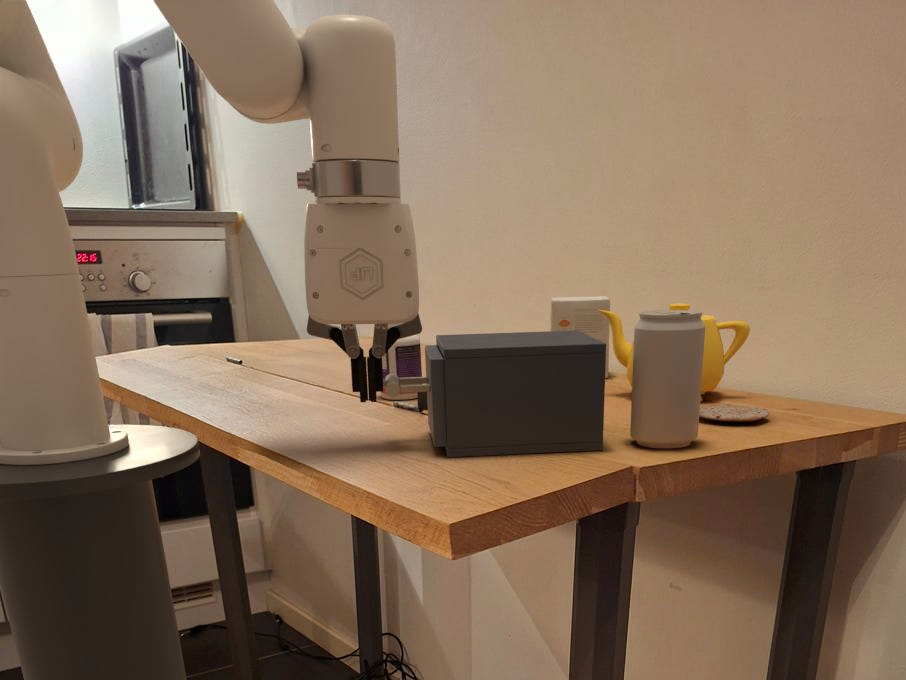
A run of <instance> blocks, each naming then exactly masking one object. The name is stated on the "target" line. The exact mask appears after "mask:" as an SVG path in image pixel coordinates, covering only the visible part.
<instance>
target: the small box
mask: <svg viewBox="0 0 906 680" xmlns="http://www.w3.org/2000/svg"><path fill="white" fill-rule="evenodd" d="M598 309H599V310H605V311H610V312H611V299H610V298H609V297H607V296H605V295H602V296H599V295H598V296H597V295H596V296H567V297H566V296H565V297H563V296H562V297H551V298H550V329H549V330H550V331H575V330H578V331H580V332H582V333H584V334H587V335H589V336H591V337H593V338H595V339H597V340H599V341H601V342H603V343H606V352H605V353H606V366H605V379H608V378H609V368H610V367H609V361H610V360H609V359H610V353H609V352H610V327H611V325H610V322H609V320H608V319H607V317H606V316H605V315H604V314H602V313H601V312H600V311H599V310H598Z"/></svg>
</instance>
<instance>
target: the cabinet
mask: <svg viewBox="0 0 906 680" xmlns="http://www.w3.org/2000/svg"><path fill="white" fill-rule="evenodd" d="M435 343H436V344H435V345H437V347H438V349H439V351H440V353H441V355H442V357H443V359H444V378H445V404H446V431H447V446H444V449H445V452H446V456H447V458H459V457H462V458H463V457H482V456H483V457H484V456H485V457H486V456H506V455H508V456H509V455H528V454H549V453H551V454H552V453H573V452H594V451H604V428H605V427H604V425H605V424H604V423H605V422H604V421H605V397H606V396H605V393H606V392H605V391H606V378H605V366H606V353H605V352H606V343H603V342H601V341H599V340H597V339H595V338H593V337H591V336H589V335H587V334H584V333H582V332H580V331H578V330H575V331H519V332H518V331H517V332H491V333H462V334H461V333H459V334H436V335H435Z"/></svg>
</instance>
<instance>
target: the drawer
mask: <svg viewBox="0 0 906 680" xmlns="http://www.w3.org/2000/svg"><path fill="white" fill-rule="evenodd" d="M424 357H425V358H424V360H425V376H422V377H407V378H398V376H397V375H395V374H388V375H387V376H386V378H385V392H386V394H387V395H388V396H389V397H391V398H395V397H397V396H398V395H399V394H400V392H401V393H406V392H427V405H428V409H427V422H428V428H429V431H430V436H431V439H432V443H433V447H436V448H437V447H438V448H439V447H441V448H442V447H445V446H447V431H446V404H445V378H444V359H443V357H442V355H441V353H440V351H439V349H438V347H437V345H436V344H433V345H432V344H431V345H424ZM406 384H422V385H406Z"/></svg>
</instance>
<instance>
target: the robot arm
mask: <svg viewBox="0 0 906 680" xmlns="http://www.w3.org/2000/svg"><path fill="white" fill-rule="evenodd" d="M152 1H153V3H154V4H155V6H156V7H157V9H158V10H159V11H160V13H161V15H162V16H163V18H164V19H165V21H166V23H168V25H169V26H170V28H171V29H172V31H173V33H174V34H175V35H176V36H177V38H178V39H179V41H180V42H181V44H182V45H183V46H184V48H185V49H186V51H187V53H188V54H189V56H190V57H191V58H192V60H193V62H194V63H195V65H196V66H197V67H198V69H199V70H200V72H201V73H202V75H203V76H204V77H205V79H206V80H207V81H208V83H209V84H210V85H211V87H212V89H214V90H215V92H216V93H217V94H218V95H219V96H220V97H221V98H223V99H224V100H225V101H226V102H227V103H228V104H229V105H230V106H231V107H232V108H233V109H234V110H235V111H236V112H238V113H239V114H240V115H241V116H243V117H244V118H246V119H247V120H250V121H253V122H255V123H258V124H266V125H268V124H269V125H271V124H273V125H274V124H281V123H289V122H293V121H294V122H295V121H300V120H308V119H309V131H310V144H311V146H310V147H311V158H312V160H311V161H312V163H311V165H312V166H311V167H309V169H306V170H305V171H296V183H297V189H298V190H306V191H308V192H310V193H311V194H312V193H313V194H314V196H313V197H315V198H314V200H315V202H314V203H307V204H306V208H305V217H304V218H305V219H304V230H303V231H304V235H303V238H304V239H303V247H304V248H303V250H304V251H303V253H304V255H303V256H304V257H303V258H304V285H305V301H306V309H307V313H308V318H307V323H306V333H307V334H308V335H310V336H312V337H316V338H321V339H323V340H324V339H325V340H330V341H333V342H334V344H336V346H338V347H339V348H340V349H341V350H342V351H343V352H344V353H345V354H346V355H347V357H349V358H350V373H351V389H352V393H359V402H360V403H367V402H368V401H369V402H371V403H377V399H378V398H377V393H378V392H379V393H381V392H383V369H382V357H383V356H384V354H385V353H386V352H387V351H388V350H389V349H390V348H391V346H392V345H393V344H394V343H395V342H396V341H397V340H398V339H401V338H406V337H409V336H413V335H417V336H418V335H420V334H421V333H422V332H423V326H422V321H421V317H420V314H419V312H420V282H419V268H418V254H417V243H416V235H415V234H416V233H415V227H414V221H413V215H412V210H411V206H410V204H409V203H402V198H401V197H402V196H401V169H400V167H401V166H400V143H399V142H400V139H399V138H400V137H399V113H398V85H397V84H398V81H397V56H396V55H397V54H396V53H397V52H396V40H395V36H394V34H393V31H392V29H391V27H390V26H389V25H388V24H387V23H385V22H384V21H383V20H380V19H378V18H376V17H374V16H373V17H372V16H367V15H360V14H329V15H325V16H321V17H319V18H316V19H314V20H312V21H311V22H310V23H309V25H308V26H307V28H297V27H291V26H290V24H289V22H288V21H287V19H286V18H285V16H284V15H283V13H282V11H281V9H280V8H279V6H278V5H277V3H276V2H275V0H152ZM78 122H79V121H78V119H77V117H76V113H75V111H74V109H73V106H72V104H71V101H70V99H69V96H68V94H67V92H66V90H65V88H64V84H63V83H62V80H61V78H60V75H59V74H58V71H57V69H56V66H55V64H54V62H53V60H52V57H51V54H50V53H49V50H48V48H47V46H46V43H45V41H44V39H43V35H42V34H41V31H40V28H39V27H38V25H37V22H36V20H35V17H34V15H33V13H32V10H31V8H30V6H29V4H28V2H27V0H0V464H3V465H18V466H29V465H49V464H60V463H69V462H76V461H82V460H88V459H93V458H98V457H102V456H106V455H110V454H113V453H116V452H119V451H121V450H123V449H125V448H126V447H127V446H128V445H129V440H128V435H127V433H126V432H124V431H123V430H119V429H114V428H109V426H108V425H109V421H108V416H107V410H106V405H105V399H104V394H103V389H102V384H101V378H100V373H99V369H98V363H97V359H96V352H95V347H94V342H93V335H92V330H91V325H90V321H89V316H88V309H87V305H86V299H85V294H84V289H83V284H82V278H81V274H80V269H79V264H78V259H77V254H76V253H77V252H76V249H75V244H74V240H73V236H72V231H71V228H70V224H69V220H68V217H67V214H66V210H65V207H64V204H63V201H62V198H61V195H60V193H61V192H63V191H64V190H66V189H67V188H69V186H71V185H72V184H73V182H74V181H75V180H76V178H77V177H78V175H79V172H80V170H81V167H82V164H83V158H84V144H83V136H82V131H81V129H80V125H79V123H78ZM396 323H401V324H398V325H394V326H390V327H389V328H388V324H396ZM337 325H338V326H337ZM339 325H340V326H339ZM357 325H374V326H373V336H372V345H371V347H370V348H368V356H365V353H364V348H362V346H361V344H360V340H359V334H358V330H357ZM387 328H388V329H387Z"/></svg>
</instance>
